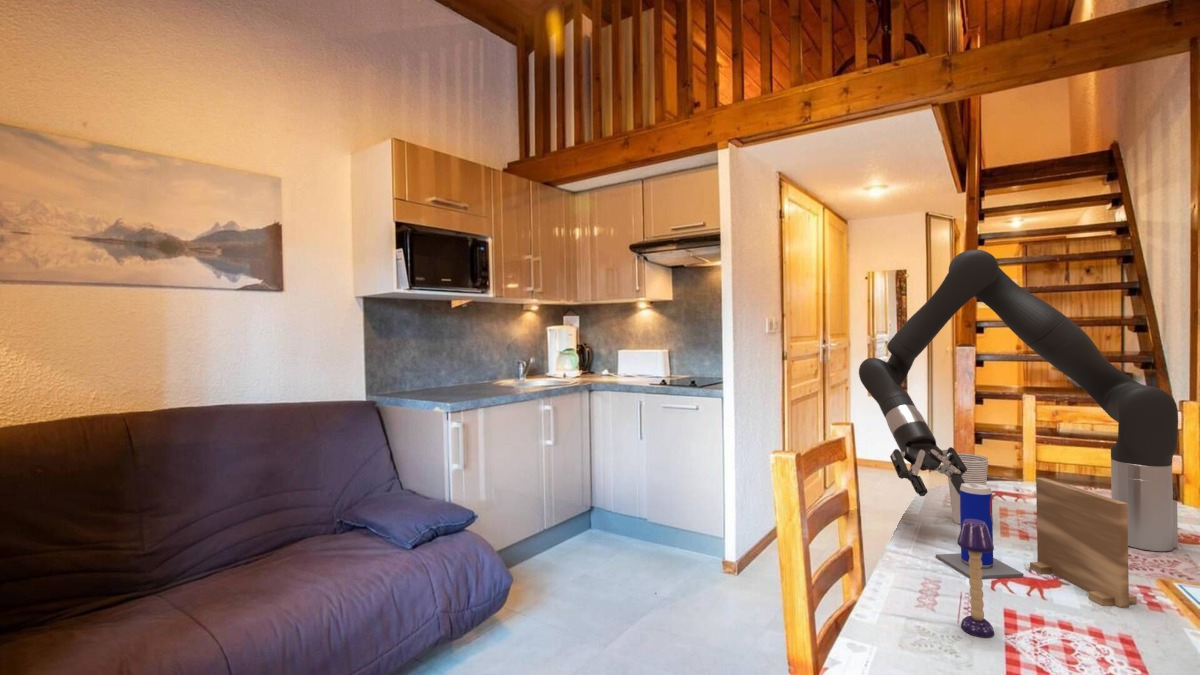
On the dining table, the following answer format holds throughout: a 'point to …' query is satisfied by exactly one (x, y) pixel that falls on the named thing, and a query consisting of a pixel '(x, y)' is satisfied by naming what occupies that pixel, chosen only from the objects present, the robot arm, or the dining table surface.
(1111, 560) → the oak board
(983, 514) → the beverage can
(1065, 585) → the dining table surface
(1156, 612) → the dining table surface
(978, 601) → the toy lamp
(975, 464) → the cup
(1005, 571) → the felt pad
